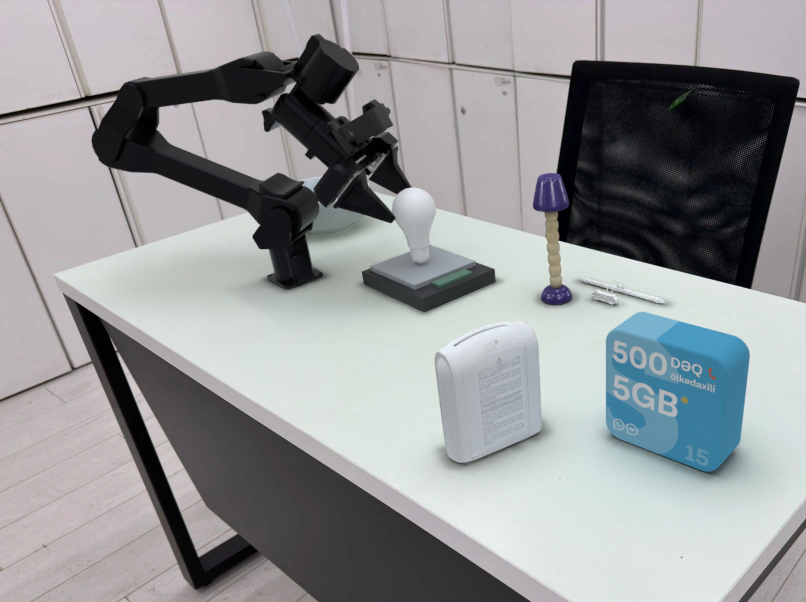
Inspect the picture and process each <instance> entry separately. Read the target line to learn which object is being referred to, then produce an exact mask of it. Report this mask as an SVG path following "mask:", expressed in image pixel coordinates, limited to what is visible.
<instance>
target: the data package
mask: <svg viewBox="0 0 806 602" xmlns="http://www.w3.org/2000/svg"><path fill="white" fill-rule="evenodd" d="M750 359H751V353H750V349H749V346H748V345H747V343H746V342H745V341H744V340H743V339H742V338H740V337H739V336H736V335H734V334H730V333H726V332H722V331H719V330H714V329H711V328H707V327H704V326H699V325H696V324H692V323H689V322H684V321H681V320H677V319H673V318H669V317H665V316H661V315H658V314H653V313H650V312H648V311H647V312H646V311H638V312H636V313H634V314H632V315H630V317H628V318H626V319H625V320H624V321H622V322H621V323H619V324H618V325H617V326H615V327H614V328H612V329H611V330H610V331H609V332H608V333H607V335H606V337H605V424H606V427H607V429H608V431H609V432H610V434H611V435H612V436H614V437H615V438H616V439H618V440H621V441H623V442H625V443H629V444H631V445H634V446H637V447H639V448H642V449H644V450H647V451H649V452H651V453H654V454H657V455H659V456H663V457H665V458H667V459H670V460H673V461H676V462H678V463H681V464H684V465H686V466H689V467H690V468H691V467H692V468H694V469H697V470H699V471H702V472H707V473H709V472H713V471H716V470H717V469H718V468H719V467H720V466H721V465H722V464H723V463H724V462H725V460H727V458H728V457H729V456H730V455H731V454H732V453H733V452H734V451H735V449H737V447H738V446H739V445H740V442H741V437H742V429H743V420H744V411H745V404H746V403H745V402H746V394H747V386H748V377H749V367H750Z"/></svg>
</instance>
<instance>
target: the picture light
mask: <svg viewBox="0 0 806 602" xmlns="http://www.w3.org/2000/svg"><path fill="white" fill-rule="evenodd" d="M579 280H580V281H581V282H583V283H585V284H590V285H593V286H597V287H600V288H603V289H606V291H602V290H600V289H597V290H594V291H592V292H591V293H590V295H591V297H592V298H593V299H594V300H595V301H601V302H605V303H608V304H609V305H614V304H616V303H618V302H619V301H620V298H619V297H618V296H617V294H616V293H613V292H614V291H615V292H618V293H623V294H626V295H629V296H632V297H636V298H639V299H643V300H646V301H650V302H654V303H656V304H665V303H666V301H665V300H664V299H663V298H660V297H658V296H654V295H650V294H646V293H642V292H639V291H635V290H631V289H628V288H626V286H624V283H623V282H622V281H617V280H615V279H613V280H611V281H610V282H609V283H606V282H603V281H599V280H595V279H591V278H589V277H579ZM613 282H616V283H614V284H612V283H613ZM619 283H620V284H619ZM608 290H611V292H610V293H609V292H608Z"/></svg>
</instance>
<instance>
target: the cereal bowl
mask: <svg viewBox="0 0 806 602" xmlns="http://www.w3.org/2000/svg"><path fill="white" fill-rule="evenodd" d="M322 176H323V175H321V176H314V177H307V178H303V179H299V180H297V181H304V184H303V185H302V186H305V187H307V188H309V189H311V190H312V191H313V192H314V190H313V188H314V187H315V186H316V184H317V183H318V182H319V180H320V179H321V177H322ZM367 182H368V186H369V187H370V188H371V184H370V182H369V181H368V180H367ZM371 189H372V188H371ZM337 200H338V199H337V198H336V200H335V202H334V203H333V204H331V205H330V206H329V207H327V208H325V207H324V206H323V205H322V204H321V203H320V202H318V203H319V214H318V216H317V218H316V219H315V220H314V222H313V229H312V230H311V231H309V232H308V233H309V234H314V235H327V234H335V233H338V232H341V231H344V230H346V229H348V228H349V227H350V226H351V225H353V224H355V223H356V222H358V221H360V220H361V219H362V218H363V217H364V216H365V215H363V214H359V213H356V212H352V211H348V210H344V209H341V208H337V209H335V208H333V205H334V204H335V203H336V201H337Z"/></svg>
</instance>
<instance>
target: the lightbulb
mask: <svg viewBox="0 0 806 602" xmlns="http://www.w3.org/2000/svg"><path fill="white" fill-rule="evenodd" d="M391 212H392V213H393V214H394V216H395V217H396V219H395V220H394V222H395V223H396V225H397V226H398V227H399V228H400V230H401V231H402V234H403V235H404V237H405V240H406V243H407V247H408V248H409V252H410V251H411V256H412V260H413V261H415V262H418V263H419V264H422V263H424V262H425V261H426V260H428V259H429V248H428V246H429V244H430V245H431V243H430V235H431V229H432V226H433V223H434V221H435V218H436V215H437V214H436V213H437V208H436V203H435V200H434V199H433V197H432V196H431V194H430V193H429V192H427V191H426V190H424V189H422V188H420V187H412V188H407V189H404V190H402V191H401V192H400V193H398V194H396V196H395V197H394V199H393V201H392V205H391Z"/></svg>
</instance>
